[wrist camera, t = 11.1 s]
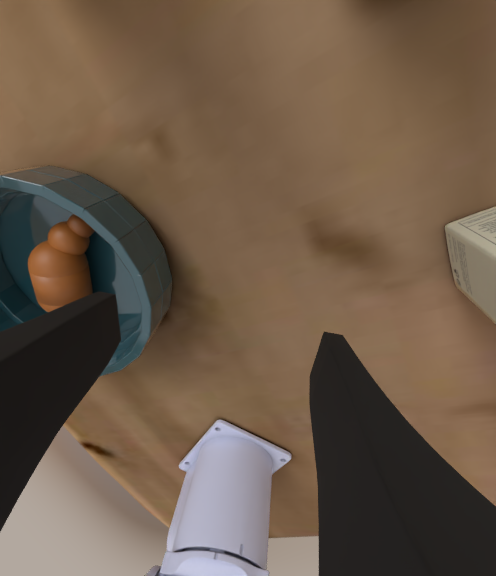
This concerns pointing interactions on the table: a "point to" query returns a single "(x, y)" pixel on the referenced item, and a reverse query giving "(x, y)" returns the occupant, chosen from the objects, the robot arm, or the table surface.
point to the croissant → (61, 265)
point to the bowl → (100, 254)
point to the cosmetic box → (475, 258)
